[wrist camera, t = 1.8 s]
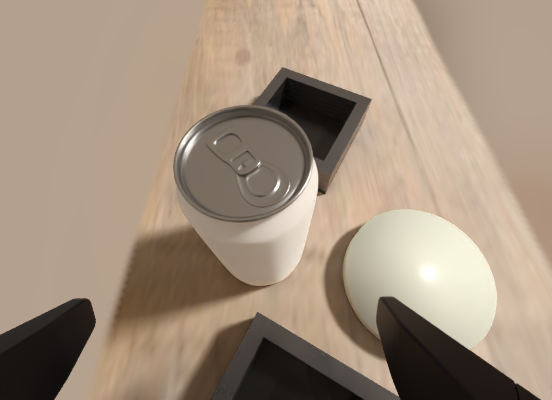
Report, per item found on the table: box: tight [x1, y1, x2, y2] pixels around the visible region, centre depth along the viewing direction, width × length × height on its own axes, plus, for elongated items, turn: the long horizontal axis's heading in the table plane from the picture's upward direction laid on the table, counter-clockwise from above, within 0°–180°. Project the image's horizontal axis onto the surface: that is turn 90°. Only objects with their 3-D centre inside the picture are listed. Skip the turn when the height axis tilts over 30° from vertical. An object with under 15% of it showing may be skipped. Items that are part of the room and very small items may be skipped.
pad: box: [342, 209, 497, 350], centre depth 20 cm, size 10×10×2 cm
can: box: [173, 105, 318, 286], centre depth 16 cm, size 6×6×12 cm
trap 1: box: [253, 67, 372, 194], centre depth 25 cm, size 9×9×3 cm
